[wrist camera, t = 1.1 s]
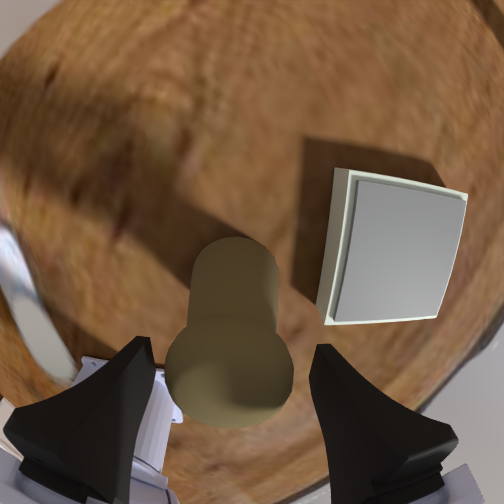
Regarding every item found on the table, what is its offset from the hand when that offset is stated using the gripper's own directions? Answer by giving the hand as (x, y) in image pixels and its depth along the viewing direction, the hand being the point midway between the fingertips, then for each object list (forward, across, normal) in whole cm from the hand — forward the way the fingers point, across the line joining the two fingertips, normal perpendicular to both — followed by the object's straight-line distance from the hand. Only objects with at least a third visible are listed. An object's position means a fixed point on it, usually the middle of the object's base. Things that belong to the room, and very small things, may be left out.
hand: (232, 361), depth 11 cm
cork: (+9, 0, 0) cm, 9 cm away
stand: (+8, -11, -3) cm, 14 cm away
